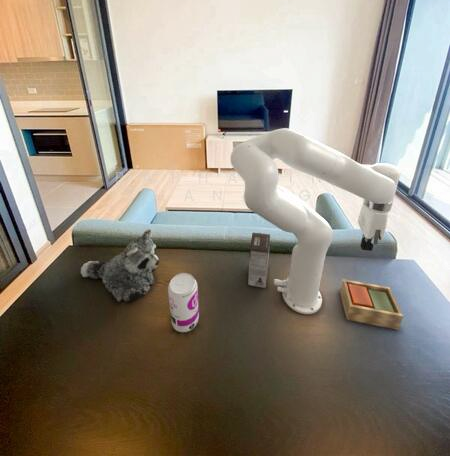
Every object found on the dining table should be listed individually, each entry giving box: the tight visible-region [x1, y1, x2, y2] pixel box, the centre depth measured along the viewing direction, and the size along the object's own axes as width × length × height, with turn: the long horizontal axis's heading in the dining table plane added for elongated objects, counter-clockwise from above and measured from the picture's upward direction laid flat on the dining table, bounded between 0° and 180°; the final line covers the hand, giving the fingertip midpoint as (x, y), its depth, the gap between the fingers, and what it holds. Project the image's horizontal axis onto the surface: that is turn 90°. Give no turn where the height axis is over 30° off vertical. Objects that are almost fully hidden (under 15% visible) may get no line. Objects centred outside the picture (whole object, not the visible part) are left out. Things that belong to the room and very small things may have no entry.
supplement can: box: [167, 272, 200, 333], centre depth 71 cm, size 8×8×15 cm
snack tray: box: [339, 279, 404, 330], centre depth 76 cm, size 14×10×6 cm
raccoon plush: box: [80, 228, 160, 303], centre depth 82 cm, size 15×32×21 cm, turn 89°
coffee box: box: [247, 232, 271, 289], centre depth 86 cm, size 9×6×16 cm
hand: (365, 248), depth 83 cm, fingers closed
